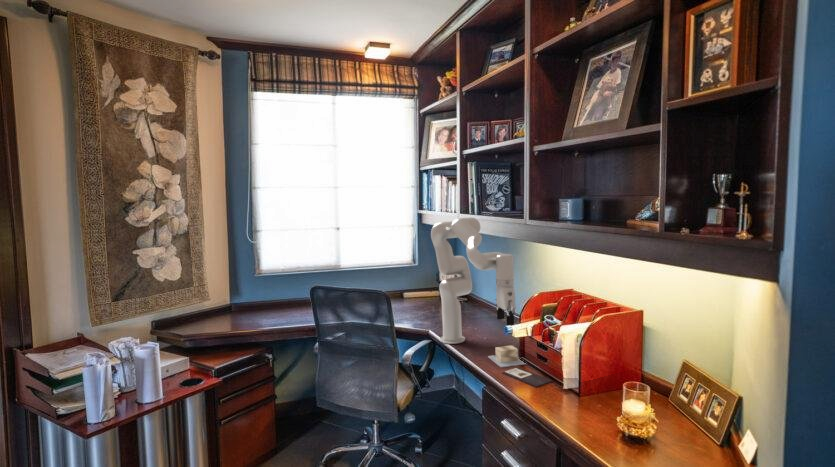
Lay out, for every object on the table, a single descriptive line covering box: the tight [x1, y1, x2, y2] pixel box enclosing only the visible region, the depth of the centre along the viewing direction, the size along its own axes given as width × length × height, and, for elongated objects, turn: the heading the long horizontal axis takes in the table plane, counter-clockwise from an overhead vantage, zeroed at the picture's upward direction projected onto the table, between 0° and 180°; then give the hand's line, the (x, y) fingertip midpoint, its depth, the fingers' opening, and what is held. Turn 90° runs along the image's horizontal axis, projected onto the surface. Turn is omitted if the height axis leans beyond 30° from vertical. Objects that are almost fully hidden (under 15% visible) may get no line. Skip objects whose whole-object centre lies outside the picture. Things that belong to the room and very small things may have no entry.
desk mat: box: [487, 354, 527, 368], centre depth 197 cm, size 14×12×1 cm
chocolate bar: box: [501, 366, 554, 389], centre depth 177 cm, size 9×1×18 cm
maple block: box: [494, 345, 519, 363], centre depth 197 cm, size 8×6×5 cm
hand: (505, 321), depth 196 cm, fingers open, 9 cm apart
